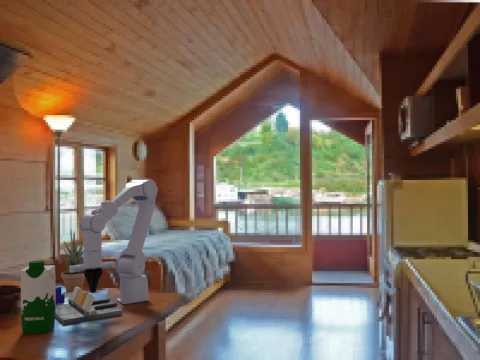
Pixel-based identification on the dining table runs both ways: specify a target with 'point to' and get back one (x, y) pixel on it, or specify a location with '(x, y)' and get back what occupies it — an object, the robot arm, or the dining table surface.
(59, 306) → the panel
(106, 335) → the dining table surface
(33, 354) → the dining table surface
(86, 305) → the ivory paddle
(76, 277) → the potted plant
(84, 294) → the orange paddle
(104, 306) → the cords
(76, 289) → the ivory paddle
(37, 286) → the milk carton
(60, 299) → the cable clip
